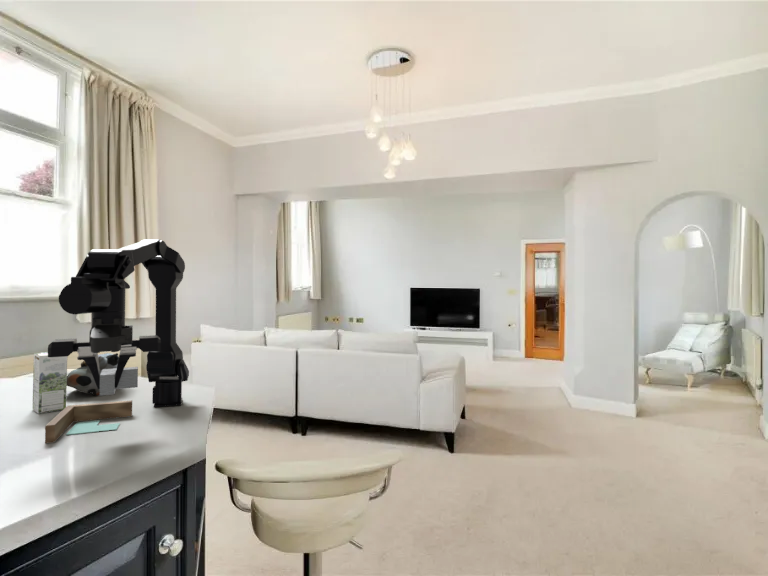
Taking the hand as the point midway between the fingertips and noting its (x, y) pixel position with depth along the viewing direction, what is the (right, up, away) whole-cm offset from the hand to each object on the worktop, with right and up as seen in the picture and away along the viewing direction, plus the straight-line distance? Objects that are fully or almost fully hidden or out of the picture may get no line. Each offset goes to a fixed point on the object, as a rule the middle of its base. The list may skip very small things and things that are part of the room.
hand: (107, 388), depth 85 cm
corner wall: (-8, -11, +8) cm, 16 cm away
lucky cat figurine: (-30, -11, +39) cm, 50 cm away
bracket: (+1, -1, +3) cm, 3 cm away
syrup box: (-28, -11, +20) cm, 36 cm away
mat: (-8, -11, +9) cm, 16 cm away
